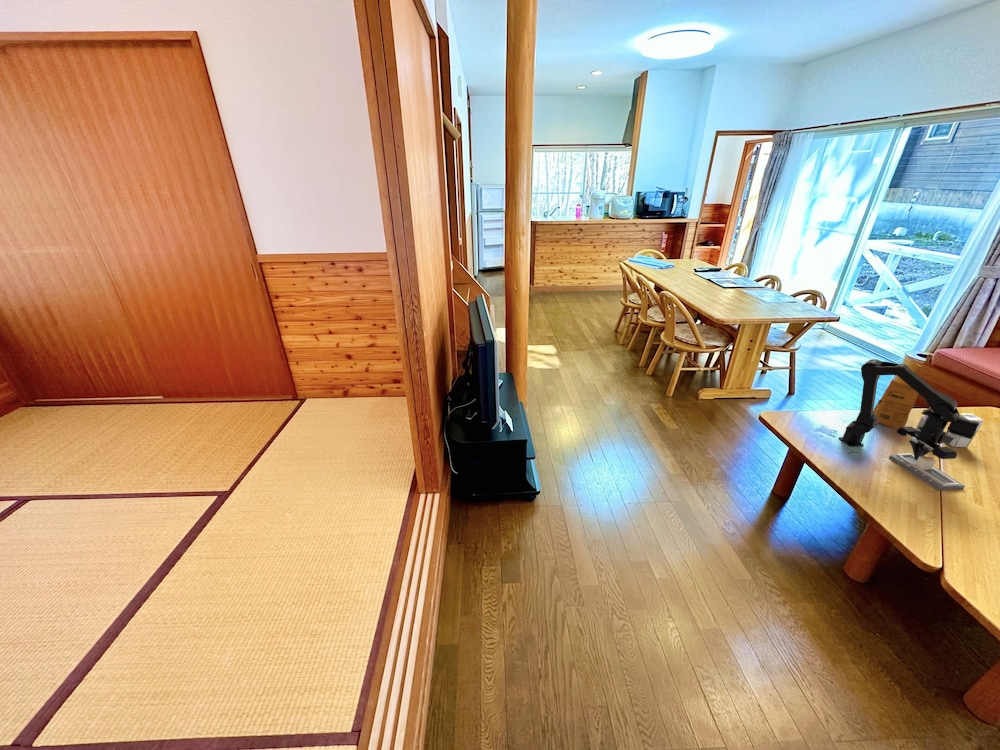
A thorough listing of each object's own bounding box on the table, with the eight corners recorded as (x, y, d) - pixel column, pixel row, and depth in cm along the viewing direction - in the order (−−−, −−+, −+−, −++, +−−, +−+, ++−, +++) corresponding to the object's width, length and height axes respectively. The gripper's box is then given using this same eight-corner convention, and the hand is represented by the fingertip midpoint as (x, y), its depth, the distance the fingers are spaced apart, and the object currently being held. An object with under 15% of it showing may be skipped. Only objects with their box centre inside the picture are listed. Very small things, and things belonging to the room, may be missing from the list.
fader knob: (921, 470, 159) (927, 460, 157) (914, 465, 162) (919, 455, 160) (930, 469, 159) (936, 459, 157) (923, 464, 162) (928, 454, 160)
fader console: (937, 490, 151) (940, 485, 150) (889, 457, 169) (891, 453, 168) (963, 489, 151) (966, 484, 150) (912, 456, 169) (914, 452, 168)
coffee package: (872, 413, 200) (889, 374, 190) (905, 423, 191) (925, 383, 182) (868, 421, 194) (885, 381, 185) (902, 431, 186) (922, 390, 176)
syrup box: (955, 440, 178) (971, 412, 172) (968, 448, 173) (984, 420, 167) (941, 439, 179) (956, 412, 172) (953, 447, 174) (969, 419, 167)
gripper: (980, 439, 148) (960, 472, 154) (929, 413, 164) (913, 444, 171) (951, 441, 147) (932, 474, 154) (903, 415, 164) (888, 446, 171)
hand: (916, 459), depth 163 cm, fingers closed
